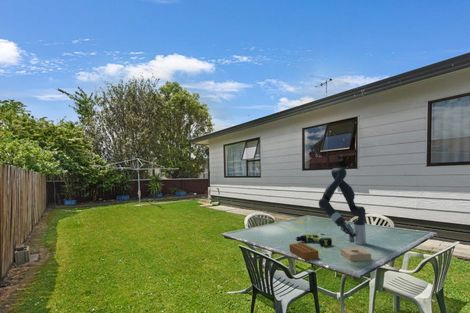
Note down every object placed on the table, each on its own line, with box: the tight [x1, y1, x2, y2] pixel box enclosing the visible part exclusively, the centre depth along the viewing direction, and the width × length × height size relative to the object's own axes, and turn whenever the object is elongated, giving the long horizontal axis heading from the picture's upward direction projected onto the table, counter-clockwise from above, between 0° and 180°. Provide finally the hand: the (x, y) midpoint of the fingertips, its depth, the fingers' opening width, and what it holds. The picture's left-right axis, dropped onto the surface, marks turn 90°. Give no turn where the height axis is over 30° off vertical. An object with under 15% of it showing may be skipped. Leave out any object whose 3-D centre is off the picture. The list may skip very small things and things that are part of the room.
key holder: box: [340, 247, 372, 262], centre depth 210 cm, size 16×16×4 cm
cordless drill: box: [295, 233, 333, 247], centre depth 251 cm, size 7×25×25 cm
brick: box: [289, 242, 319, 261], centre depth 222 cm, size 25×12×6 cm, turn 16°
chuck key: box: [348, 227, 355, 244], centre depth 212 cm, size 4×4×10 cm
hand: (354, 236), depth 211 cm, fingers closed on chuck key, 3 cm apart
